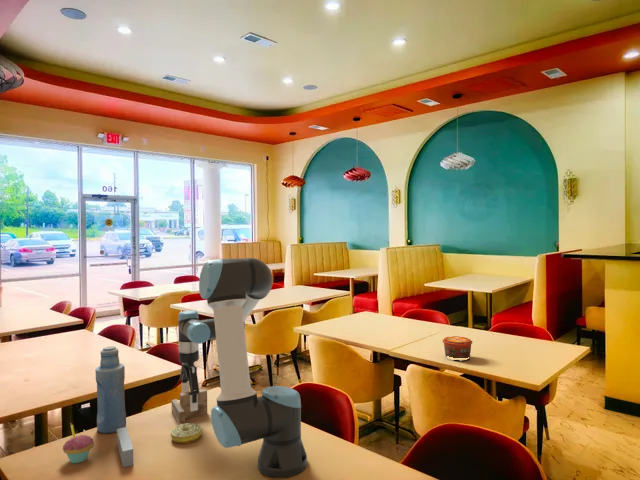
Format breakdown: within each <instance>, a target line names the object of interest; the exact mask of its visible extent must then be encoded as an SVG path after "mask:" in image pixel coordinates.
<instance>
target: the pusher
mask: <svg viewBox="0 0 640 480" xmlns="http://www.w3.org/2000/svg"><path fill="white" fill-rule="evenodd" d="M194 391H196V390H194ZM189 393H191V392H190V391H189V392H185V393H182V392H180V393H179V401H178V399H177V398H175V399H171V414H172V415H173V417H174V419H175V421H176V422H177V424H178V425H181V424H185V423H186V419H187V418H189V419H190V418H193V417H196V416H201V415H206V414H208V390H207V389H206V388H201V389H199V394H198V410H196V411H190V395H189Z"/></svg>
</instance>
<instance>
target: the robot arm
mask: <svg viewBox="0 0 640 480" xmlns="http://www.w3.org/2000/svg"><path fill="white" fill-rule="evenodd" d="M198 280H199V281H198V284H199V285H198V289H199V290H198V291H199V294H200V297H201V298H202V299H203V300H206V301H207V306H208V307H209V308H210V309H211V310H212V311H213V318H209V319H208V318H207V319H201V320H200V318H199V312H198V311H197V310H185V311H183V310H182V311H180V312H179V313H178V316H177V317H178V318H177V323H178V324H177V325H178V328H177V329H178V330H177V331H178V341H177V342H178V343H177V344H178V362H179V363H181V367H180V368H181V369H180V377H179V379H180V382H181V393H185V392H191V393H189V395H190V411H196V410H198V394H199V390H200V389H199V388H200V387H199V379H198V372H197V371H198V369H197V366H196V365H195V364H194V363H195V362H198V361H199V359H200V353H199V352H200V351H199V344H203V343H205V342H207V341H209V340H215V342H216V350H217V353H216V354H217V361H218V363H217V364H218V371H219V382H220V394H219V395H218V396H217V397H216V405H215V406H213V407H212V408H211V409H210V413H211V415H210V420H211V425H212V430H213V433H214V434H215V435H214V436H215V437H216V439H217V441H218V442H219V444H220V445H221V446H222V447H224V448H227V449H229V448H233V447H240V446H242V445H245V444H248V443H252V442H255V441H259V440H262V443H261V446H260V450H259V453H258V456H257V468H258V471H259V472H260V473H261V474H262V475H265V476H267V477H270V478H274V479H275V478H277V479H278V478H279V479H281V478H283V479H284V478H290V477H294V476H296V475H299V474H300V473H302V472H304V470H305V469H306V467H307V466H308V455H307V452H306V448H305V446H304V443H303V440H302V423H301V422H302V418H301V417H302V416H301V415H302V414H301V413H302V409H301V408H302V403H301V402H302V401H301V395H300V393H299V392H298V391H297V390H296V389H293V388H290V387H286V386H281V385H276V386H273V385H272V386H267V387H265V388H263V389H262V392H261V395H260V396H258V395H257V391H256V390H255V389H253V388H252V386H251V378H250V377H251V376H250V368H249V359H248V351H247V341H246V331H245V330H246V322H245V321H246V320H247V319H248V317H249V315H250V314H251V313H252V312H253V311H254V309H255V307H256V306H257V304H258V303H259V301H260V300H263V299H265V298H266V297H267V296H268V295H269V293H270V292H271V291H272V290H271V289H272V287H273V283H274V277H273V273H272V271H271V269H270V268H269V265H267V264H266V263H265V262H264V261H262V260H261V259H258V258H256V257H245V258H243V257H241V258H240V257H239V258H217V259H211V260H207V261H206V262H205V263H204V264H203V265H202V268H201V271H200V275H199V279H198ZM195 390H196V391H195Z"/></svg>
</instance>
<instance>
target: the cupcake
mask: <svg viewBox="0 0 640 480" xmlns="http://www.w3.org/2000/svg"><path fill="white" fill-rule="evenodd" d="M69 424H70V428H71V429H70V430H71V436H72V437H71V438H69V439H67V441H66V442H65V443H64V445H63V447H62V450H63V453H65V455H67V457H68V460H69V462H70V463H71V464H79V463H82V462H84V461H86V460H87V458H88V455H89V453H90V450H91V449H92V448H93V447H94V445H95V443H94V438H93V437H91V436H90V435H86V434H85V435H84V434H81V435H78V436H76V432H75V428H74V424H73V423H71V422H70V423H69Z"/></svg>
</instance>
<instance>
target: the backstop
mask: <svg viewBox="0 0 640 480" xmlns="http://www.w3.org/2000/svg"><path fill="white" fill-rule="evenodd" d="M116 444H117V445H116V446H117V449H118V452H119V456H120V457H119V458H120V461H121V465H122V468H124V469H125V468H128V467H131V466H134V464H135V463H134V447H133V445H132V441H131V438H130V434H129V431H128V429H127V426H125V427H124V428H119V429H117V432H116Z"/></svg>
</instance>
